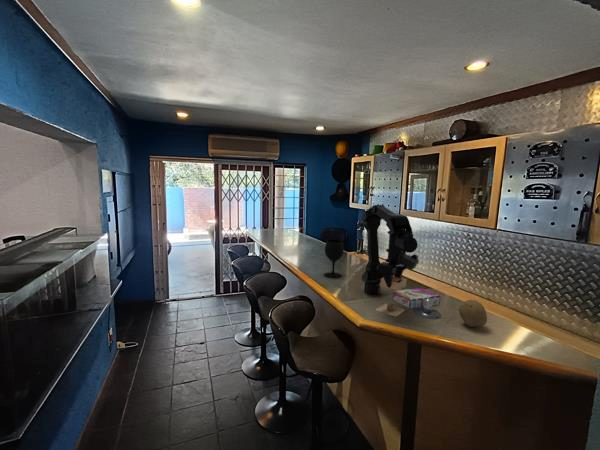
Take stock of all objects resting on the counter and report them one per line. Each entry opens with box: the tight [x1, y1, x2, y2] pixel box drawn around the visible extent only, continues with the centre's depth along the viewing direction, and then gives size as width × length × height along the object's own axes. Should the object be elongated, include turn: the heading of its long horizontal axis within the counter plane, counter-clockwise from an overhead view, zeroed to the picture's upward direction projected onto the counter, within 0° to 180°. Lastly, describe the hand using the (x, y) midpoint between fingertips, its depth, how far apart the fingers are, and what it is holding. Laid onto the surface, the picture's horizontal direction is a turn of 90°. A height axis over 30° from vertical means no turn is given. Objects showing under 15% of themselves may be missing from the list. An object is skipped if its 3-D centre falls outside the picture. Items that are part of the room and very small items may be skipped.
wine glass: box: [323, 239, 344, 279], centre depth 165 cm, size 10×10×20 cm
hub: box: [413, 299, 442, 320], centre depth 116 cm, size 10×10×7 cm
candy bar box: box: [392, 287, 442, 310], centre depth 129 cm, size 11×5×16 cm
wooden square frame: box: [380, 275, 407, 291], centre depth 117 cm, size 7×7×3 cm
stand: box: [374, 302, 406, 317], centre depth 119 cm, size 9×9×3 cm
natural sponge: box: [458, 299, 488, 328], centre depth 109 cm, size 9×9×10 cm
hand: (393, 285), depth 118 cm, fingers closed on wooden square frame, 7 cm apart
